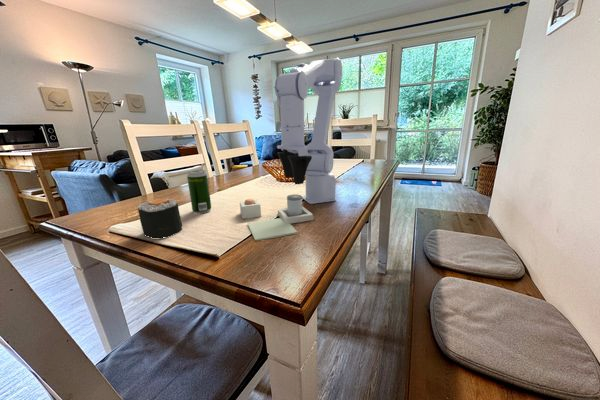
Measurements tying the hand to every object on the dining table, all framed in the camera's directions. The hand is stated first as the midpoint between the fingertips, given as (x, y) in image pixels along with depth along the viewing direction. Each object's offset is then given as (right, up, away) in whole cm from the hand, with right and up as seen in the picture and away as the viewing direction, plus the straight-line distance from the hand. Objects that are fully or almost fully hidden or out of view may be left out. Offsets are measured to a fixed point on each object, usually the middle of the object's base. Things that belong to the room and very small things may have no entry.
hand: (293, 180), depth 65 cm
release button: (-13, -8, +5) cm, 16 cm away
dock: (0, -10, +3) cm, 10 cm away
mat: (-6, -12, -4) cm, 14 cm away
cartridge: (0, -10, +3) cm, 10 cm away
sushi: (-32, -13, -4) cm, 35 cm away
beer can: (-28, -9, +10) cm, 31 cm away
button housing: (-13, -9, +6) cm, 17 cm away
